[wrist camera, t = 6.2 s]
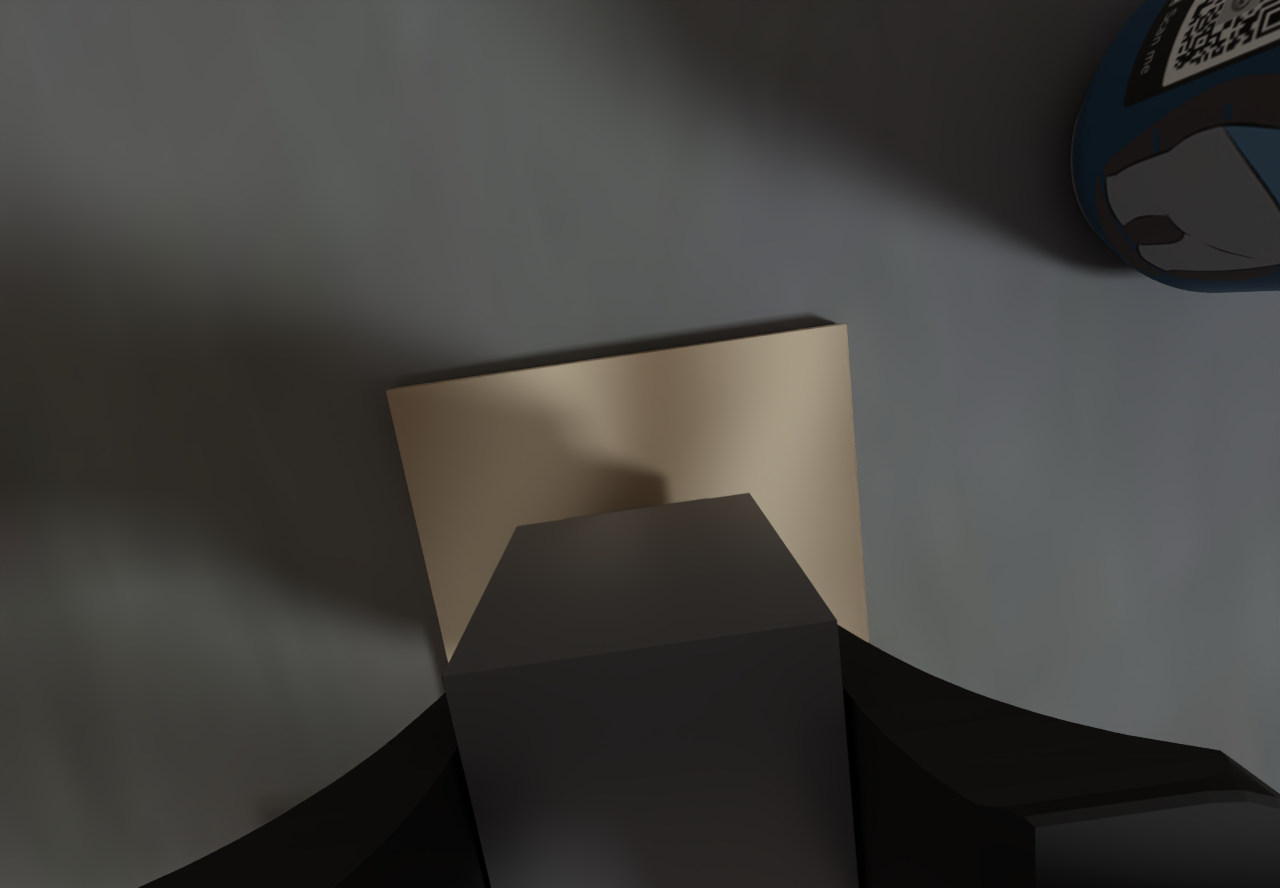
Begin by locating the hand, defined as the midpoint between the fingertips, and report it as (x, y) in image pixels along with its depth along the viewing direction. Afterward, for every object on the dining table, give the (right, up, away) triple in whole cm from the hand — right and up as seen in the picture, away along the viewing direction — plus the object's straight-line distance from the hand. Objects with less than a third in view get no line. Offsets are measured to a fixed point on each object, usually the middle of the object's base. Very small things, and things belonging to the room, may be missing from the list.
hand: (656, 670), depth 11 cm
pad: (0, +1, +5) cm, 5 cm away
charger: (0, +1, +3) cm, 4 cm away
